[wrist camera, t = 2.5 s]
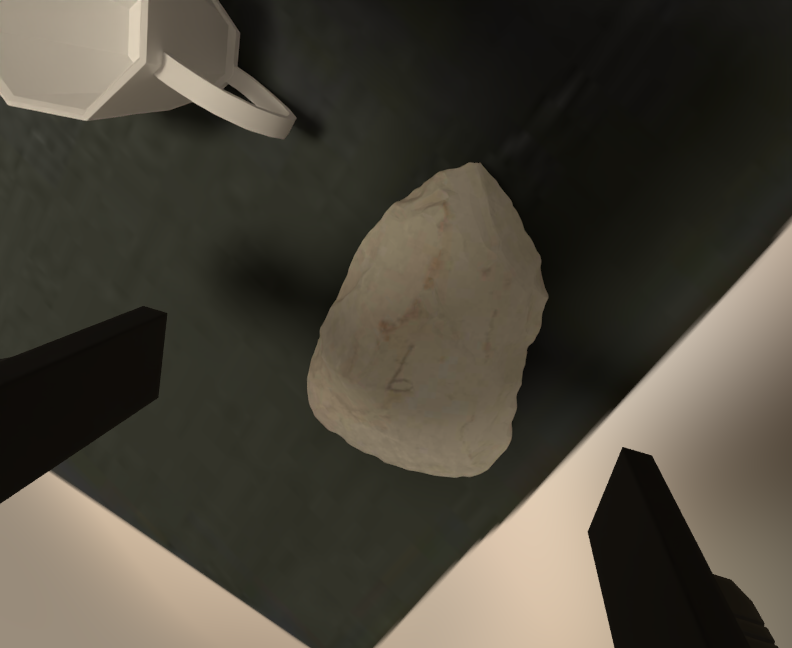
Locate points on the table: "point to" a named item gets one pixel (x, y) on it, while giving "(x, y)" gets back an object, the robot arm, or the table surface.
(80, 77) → the cup
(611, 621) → the robot arm
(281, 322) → the table surface
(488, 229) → the stone
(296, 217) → the table surface
